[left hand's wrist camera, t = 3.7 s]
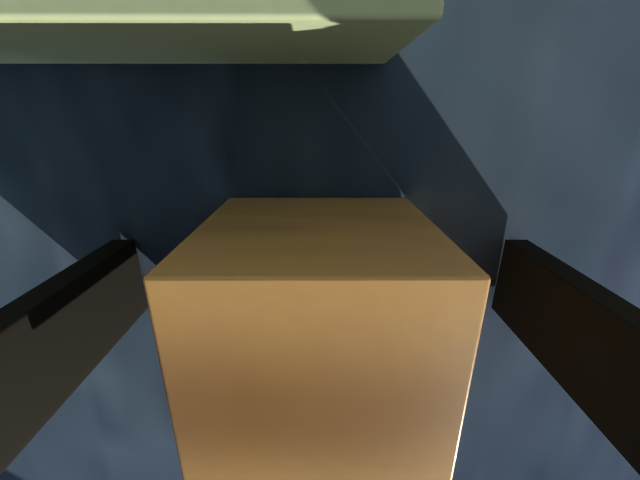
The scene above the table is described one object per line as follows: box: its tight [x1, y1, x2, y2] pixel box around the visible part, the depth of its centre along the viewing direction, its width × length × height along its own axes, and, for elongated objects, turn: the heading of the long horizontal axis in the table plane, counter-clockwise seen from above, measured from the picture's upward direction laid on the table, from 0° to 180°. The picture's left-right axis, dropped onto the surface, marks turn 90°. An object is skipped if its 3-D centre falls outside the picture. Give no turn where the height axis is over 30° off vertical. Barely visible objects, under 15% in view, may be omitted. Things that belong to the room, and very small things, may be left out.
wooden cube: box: [143, 198, 491, 480], centre depth 10 cm, size 6×6×6 cm
